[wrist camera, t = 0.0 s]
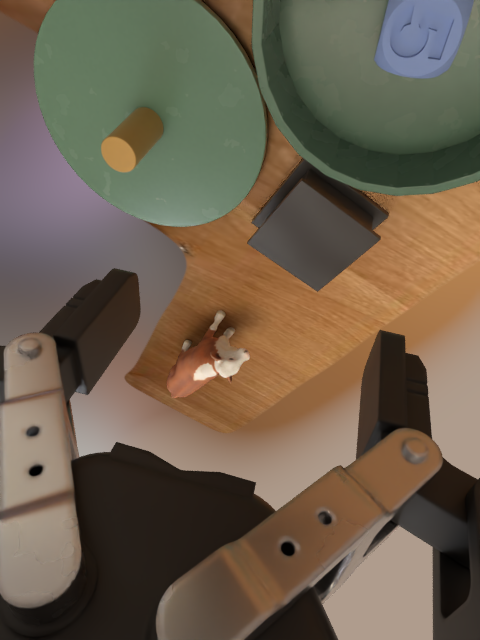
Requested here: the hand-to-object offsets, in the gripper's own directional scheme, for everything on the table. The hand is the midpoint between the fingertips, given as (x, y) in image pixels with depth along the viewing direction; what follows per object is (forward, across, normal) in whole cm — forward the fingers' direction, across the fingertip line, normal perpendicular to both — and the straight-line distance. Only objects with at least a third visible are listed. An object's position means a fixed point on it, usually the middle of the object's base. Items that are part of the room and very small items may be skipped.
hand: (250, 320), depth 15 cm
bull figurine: (+26, +8, +25) cm, 37 cm away
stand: (+24, -1, +7) cm, 25 cm away
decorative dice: (+22, -4, -7) cm, 23 cm away
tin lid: (+22, +13, +2) cm, 26 cm away
